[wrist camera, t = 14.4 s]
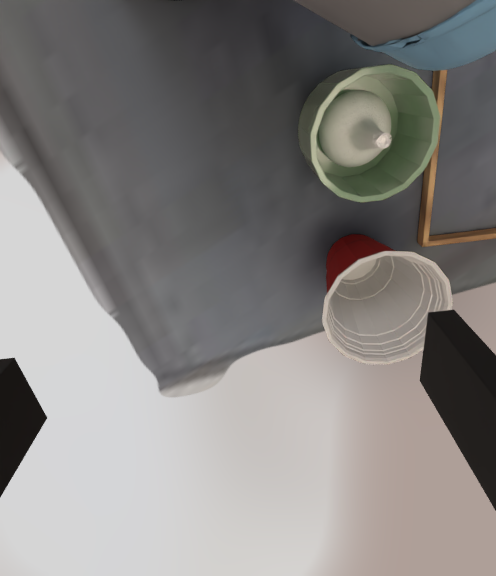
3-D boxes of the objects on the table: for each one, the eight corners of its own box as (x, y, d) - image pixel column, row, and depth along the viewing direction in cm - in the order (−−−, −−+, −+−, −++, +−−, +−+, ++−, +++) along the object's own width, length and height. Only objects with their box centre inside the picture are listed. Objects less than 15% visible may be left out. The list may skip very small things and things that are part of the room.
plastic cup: (403, 200, 39) (462, 244, 28) (400, 290, 44) (449, 356, 33) (298, 217, 39) (318, 266, 29) (307, 303, 45) (326, 372, 34)
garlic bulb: (317, 91, 33) (336, 94, 26) (388, 87, 33) (426, 88, 26) (315, 165, 36) (331, 184, 29) (380, 161, 36) (412, 180, 29)
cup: (294, 77, 33) (307, 76, 26) (404, 61, 33) (447, 55, 26) (300, 185, 38) (313, 209, 31) (397, 172, 37) (432, 193, 30)
